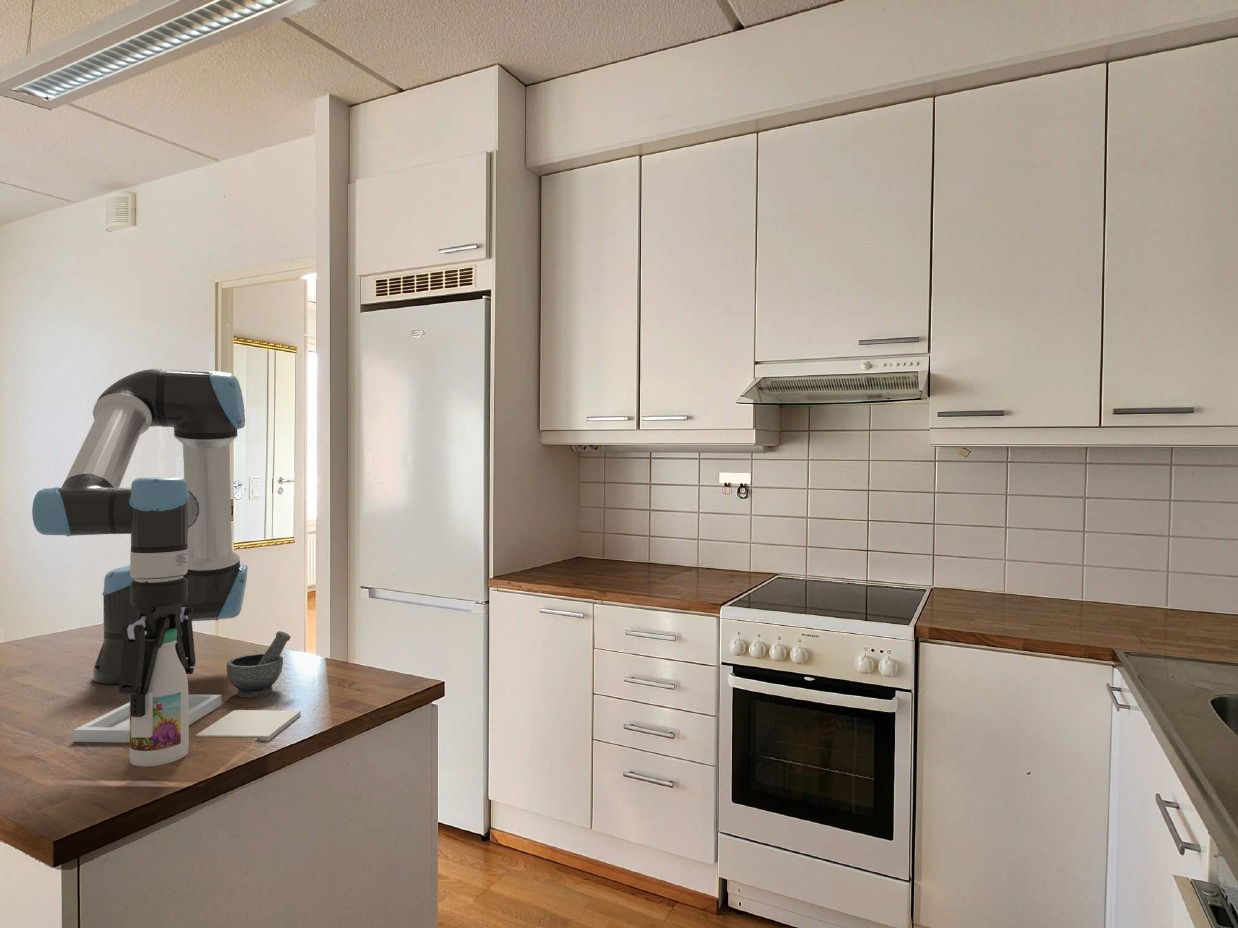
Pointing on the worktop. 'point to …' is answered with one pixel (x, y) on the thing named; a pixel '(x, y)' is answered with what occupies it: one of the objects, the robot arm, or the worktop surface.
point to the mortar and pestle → (258, 669)
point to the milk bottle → (165, 710)
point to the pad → (251, 724)
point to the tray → (118, 720)
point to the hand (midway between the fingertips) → (159, 725)
